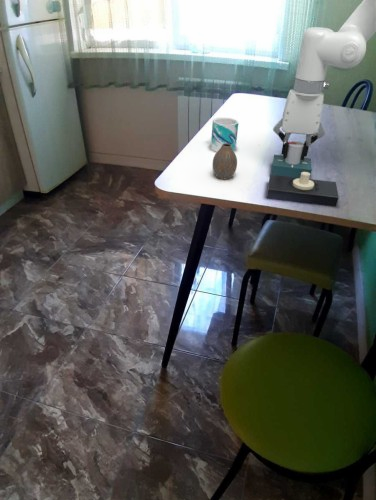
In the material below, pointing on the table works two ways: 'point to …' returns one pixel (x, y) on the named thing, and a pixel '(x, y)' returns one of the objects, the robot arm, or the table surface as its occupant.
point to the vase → (225, 162)
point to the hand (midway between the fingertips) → (293, 157)
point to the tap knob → (294, 152)
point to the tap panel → (290, 167)
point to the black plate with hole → (302, 191)
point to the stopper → (303, 182)
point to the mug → (224, 133)
